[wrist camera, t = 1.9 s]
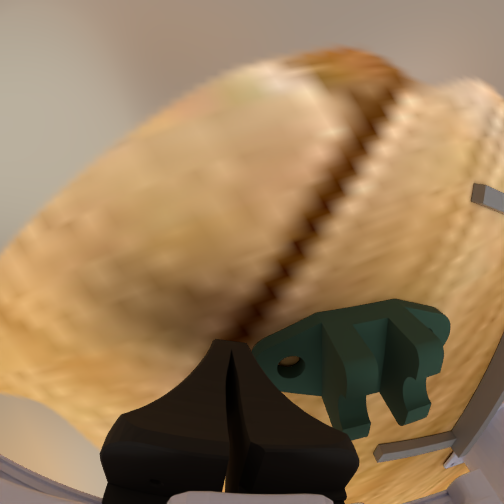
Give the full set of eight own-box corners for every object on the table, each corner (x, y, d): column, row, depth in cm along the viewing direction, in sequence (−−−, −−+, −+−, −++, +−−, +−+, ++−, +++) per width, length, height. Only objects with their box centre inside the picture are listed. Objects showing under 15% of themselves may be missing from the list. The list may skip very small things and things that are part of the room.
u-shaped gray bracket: (543, 217, 14) (568, 223, 11) (453, 437, 18) (466, 455, 16) (474, 183, 13) (505, 187, 10) (373, 453, 17) (383, 477, 15)
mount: (443, 286, 14) (501, 324, 10) (433, 353, 16) (477, 400, 11) (244, 320, 14) (248, 387, 9) (254, 391, 15) (261, 462, 11)
